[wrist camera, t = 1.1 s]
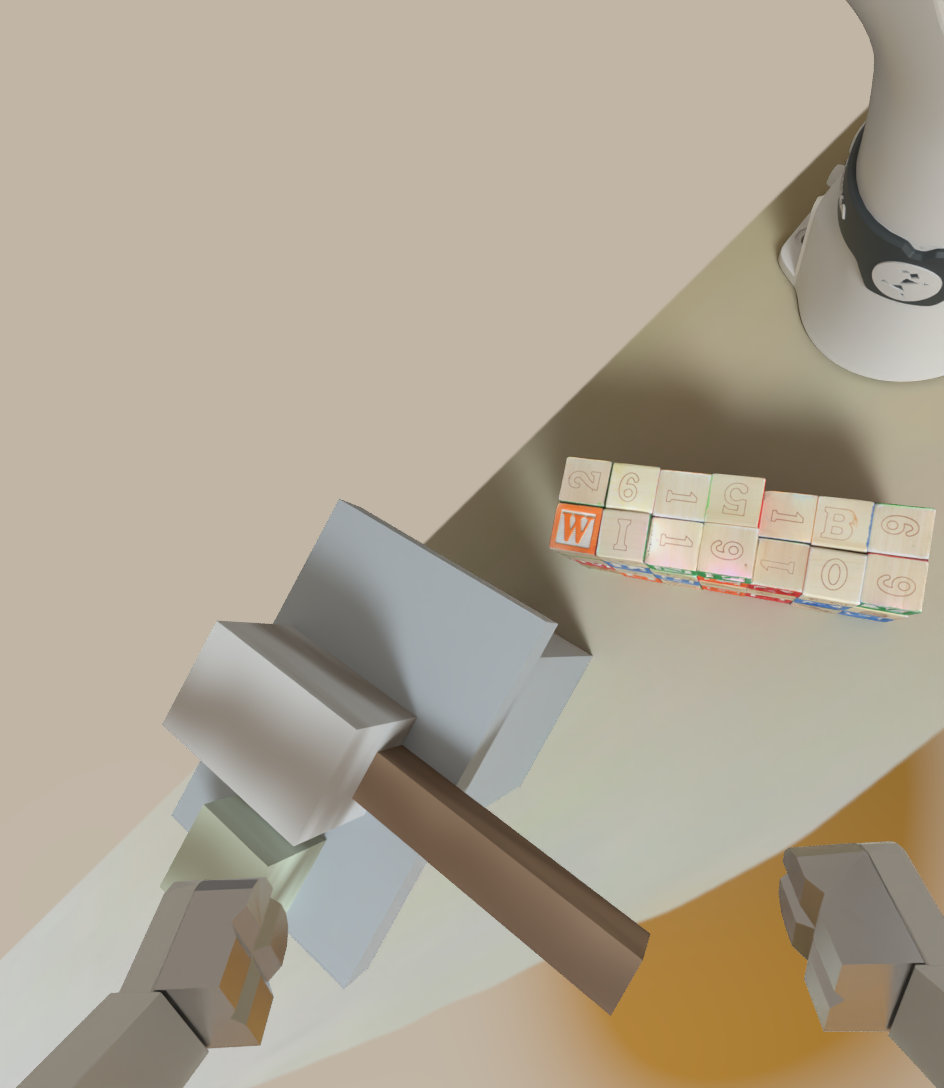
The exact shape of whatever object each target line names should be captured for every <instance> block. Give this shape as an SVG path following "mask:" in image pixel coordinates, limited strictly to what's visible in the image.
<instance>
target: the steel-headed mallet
mask: <svg viewBox="0 0 944 1088" xmlns="http://www.w3.org/2000/svg"><path fill="white" fill-rule="evenodd" d="M416 719H417V717H416V716H415V715H414V714H412V713H411V712H410V711H408V710H407V709H405V708H404V707H403V706H401V705H400V704H399V703H397V702H396V701H395V700H393V699H392V698H390V697H389V696H388V695H386V694H385V693H384V692H382V691H381V690H379V689H378V688H377V687H375V686H374V685H373V684H371V683H370V682H369V681H367V680H366V679H364V678H363V677H362V676H360V675H359V674H358V673H356V672H355V671H353V670H352V669H351V668H349V667H348V666H347V665H345V664H344V663H343V662H341V661H340V660H338V659H337V658H336V657H334V656H333V655H332V654H330V653H329V652H327V651H326V650H325V649H323V648H322V647H321V646H319V645H318V644H317V643H315V642H314V641H312V640H311V639H310V638H308V637H307V636H306V635H304V634H303V633H302V632H300V631H299V630H297V629H296V628H295V627H293V626H292V625H278V624H261V623H244V622H228V621H216V623H215V625H214V627H213V629H212V631H211V633H210V635H209V637H208V639H207V640H206V642H205V644H204V646H203V648H202V650H201V652H200V654H199V656H198V658H197V659H196V662H195V663H194V665H193V667H192V669H191V671H190V673H189V675H188V677H187V679H186V681H185V682H184V684H183V686H182V688H181V690H180V692H179V694H178V696H177V698H176V700H175V701H174V703H173V705H172V707H171V709H170V711H169V713H168V715H167V717H166V718H165V720H164V722H163V724H162V725H163V726H164V727H165V728H166V729H167V730H168V731H169V732H171V733H172V734H173V735H174V736H175V737H176V738H177V739H178V740H179V741H180V742H181V743H182V744H183V745H185V746H186V747H187V748H188V749H189V750H190V751H191V752H192V753H193V754H194V755H195V756H197V757H198V758H199V759H200V760H201V761H202V762H203V763H204V764H205V765H206V766H207V767H208V768H209V769H210V770H212V771H213V772H214V773H215V774H216V775H217V776H218V777H219V778H220V779H221V780H222V781H223V782H224V783H226V784H227V785H228V786H229V787H230V788H231V789H232V790H233V791H234V792H235V793H236V794H237V795H239V796H240V797H241V798H242V799H243V800H244V801H245V802H246V803H247V804H248V805H249V806H250V807H251V808H253V809H254V810H255V811H256V812H257V813H258V814H259V815H260V816H261V817H262V818H263V819H264V820H265V821H267V822H268V823H269V824H270V825H271V826H272V827H273V828H274V829H275V830H276V831H277V832H278V833H280V834H281V835H282V836H283V837H284V838H285V839H286V840H287V841H288V842H289V843H290V844H291V845H292V846H296V845H298V844H300V843H303V842H305V841H307V840H309V839H312V838H314V837H316V836H318V835H321V834H323V833H325V832H327V831H329V830H332V829H334V828H336V827H338V826H341V825H343V824H345V823H347V822H350V821H352V820H354V819H356V818H359V817H361V816H363V815H364V814H365V812H366V811H368V812H369V813H370V814H371V815H372V816H374V817H375V818H376V819H377V820H378V821H380V822H381V823H382V824H383V825H384V826H385V827H387V828H388V829H389V830H390V831H391V832H393V833H394V834H395V835H396V836H397V837H399V838H400V839H401V840H402V841H403V842H405V843H406V844H407V845H408V846H409V847H410V848H412V849H413V850H414V851H415V852H416V853H418V854H419V855H420V856H421V857H422V858H424V859H425V860H426V861H427V862H428V863H430V864H431V865H432V866H433V867H434V868H435V869H437V870H438V871H439V872H440V873H441V874H443V875H444V876H445V877H446V878H447V879H449V880H450V881H451V882H452V883H453V884H455V885H456V886H457V887H458V888H459V889H460V890H462V891H463V892H464V893H465V894H466V895H468V896H469V897H470V898H471V899H472V900H474V901H475V902H476V903H477V904H478V905H480V906H481V907H482V908H483V909H484V910H485V911H487V912H488V913H489V914H490V915H491V916H493V917H494V918H495V919H496V920H497V921H499V922H500V923H501V924H502V925H503V926H505V927H506V928H507V929H508V930H509V931H510V932H512V933H513V934H514V935H515V936H516V937H518V938H519V939H520V940H521V941H522V942H524V943H525V944H526V945H527V946H528V947H530V948H531V949H532V950H533V951H534V952H535V953H537V954H538V955H539V956H540V957H541V958H543V959H544V960H545V961H546V962H547V963H549V964H550V965H551V966H552V967H553V968H555V969H556V970H557V971H558V972H559V973H560V974H562V975H563V976H564V977H565V978H567V979H568V980H569V981H570V982H571V983H572V984H574V985H575V986H576V987H577V988H579V989H580V990H581V991H582V992H583V993H584V994H585V995H587V996H588V997H589V998H590V999H591V1000H593V1001H594V1002H595V1003H596V1004H597V1005H599V1006H600V1007H601V1008H602V1009H603V1010H605V1011H606V1012H607V1013H608V1014H609V1015H611V1014H612V1012H613V1011H614V1009H615V1007H616V1006H617V1004H618V1002H619V1000H620V998H621V997H622V995H623V993H624V992H625V990H626V988H627V987H628V985H629V983H630V981H631V980H632V978H633V976H634V974H635V973H636V971H637V969H638V967H639V966H640V964H641V962H642V961H643V957H644V954H645V950H646V947H647V943H648V940H649V936H650V933H649V932H647V931H646V930H645V929H643V928H642V927H641V926H639V925H638V924H637V923H635V922H634V921H633V920H631V919H630V918H629V917H628V916H626V915H625V914H624V913H622V912H621V911H620V910H618V909H617V908H616V907H614V906H613V905H612V904H610V903H609V902H608V901H607V900H605V899H604V898H603V897H601V896H600V895H599V894H597V893H596V892H595V891H593V890H592V889H591V888H589V887H588V886H587V885H586V884H584V883H583V882H582V881H580V880H579V879H578V878H576V877H575V876H574V875H572V874H571V873H570V872H568V871H567V870H566V869H565V868H563V867H562V866H561V865H559V864H558V863H557V862H555V861H554V860H553V859H551V858H550V857H549V856H548V855H546V854H545V853H544V852H542V851H541V850H540V849H538V848H537V847H536V846H534V845H533V844H532V843H530V842H529V841H528V840H527V839H525V838H524V837H523V836H521V835H520V834H519V833H517V832H516V831H515V830H513V829H512V828H511V827H509V826H508V825H507V824H506V823H504V822H503V821H502V820H500V819H499V818H498V817H496V816H495V815H494V814H492V813H491V812H490V811H488V810H487V809H486V808H485V807H483V806H482V805H481V804H479V803H478V802H477V801H475V800H474V799H473V798H471V797H470V796H469V795H467V794H466V793H465V792H464V791H462V790H461V789H460V788H458V787H457V786H456V785H454V784H453V783H452V782H450V781H449V780H448V779H447V778H445V777H444V776H443V775H441V774H440V773H439V772H437V771H436V770H435V769H433V768H432V767H431V766H429V765H428V764H427V763H426V762H424V761H423V760H422V759H420V758H419V757H418V756H416V755H415V754H414V753H412V752H411V751H410V750H408V749H407V748H406V747H405V746H403V745H402V744H403V743H404V741H405V739H406V737H407V735H408V733H409V732H410V730H411V728H412V726H413V724H414V722H415V721H416Z"/></svg>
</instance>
